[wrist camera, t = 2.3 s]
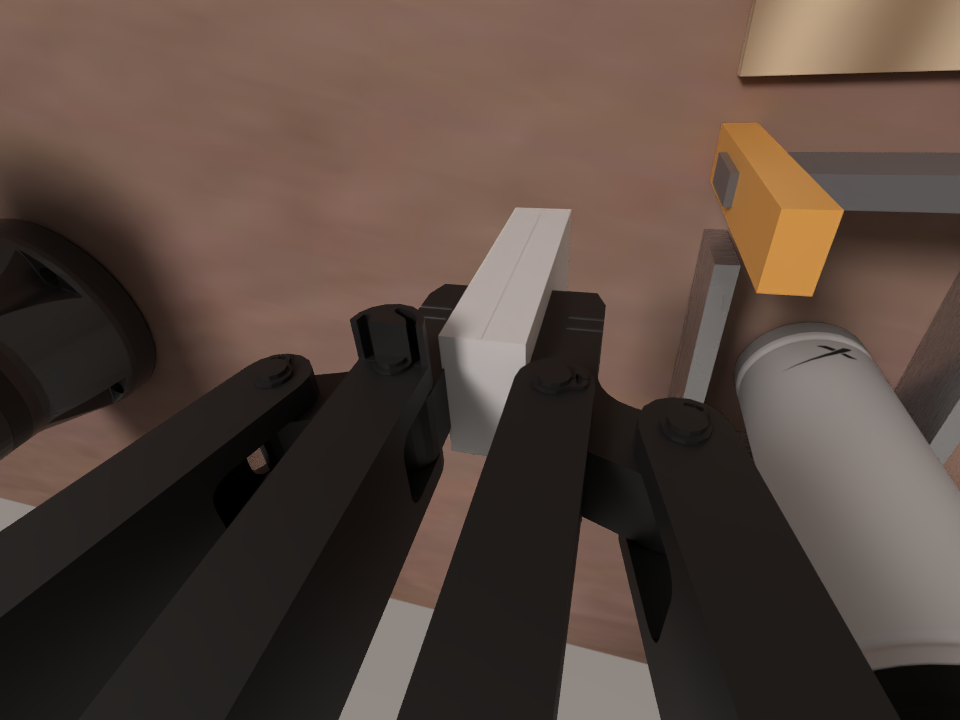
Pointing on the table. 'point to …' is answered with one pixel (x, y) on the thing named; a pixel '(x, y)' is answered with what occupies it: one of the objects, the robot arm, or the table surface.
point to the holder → (922, 390)
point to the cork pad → (850, 37)
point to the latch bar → (814, 199)
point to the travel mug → (862, 504)
